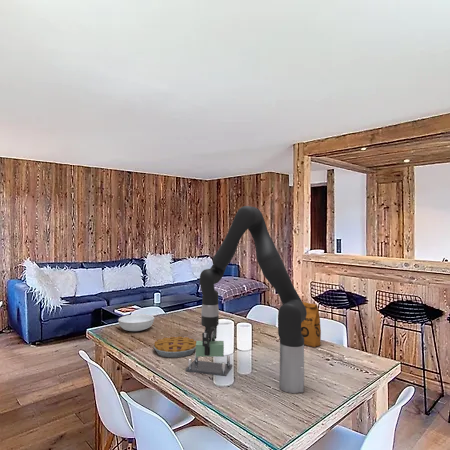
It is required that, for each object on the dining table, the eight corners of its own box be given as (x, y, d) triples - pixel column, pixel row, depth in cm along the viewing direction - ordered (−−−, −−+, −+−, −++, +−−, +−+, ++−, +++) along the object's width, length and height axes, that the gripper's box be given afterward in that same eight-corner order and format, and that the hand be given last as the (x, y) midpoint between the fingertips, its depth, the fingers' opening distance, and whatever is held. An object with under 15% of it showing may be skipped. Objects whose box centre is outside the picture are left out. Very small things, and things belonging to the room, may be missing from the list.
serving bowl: (138, 322, 229) (138, 312, 229) (161, 328, 216) (161, 317, 216) (110, 330, 212) (111, 318, 212) (134, 336, 199) (134, 324, 199)
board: (223, 352, 158) (223, 340, 158) (223, 356, 153) (223, 344, 153) (196, 352, 158) (196, 340, 158) (195, 356, 152) (195, 344, 152)
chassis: (232, 366, 158) (232, 355, 158) (226, 376, 148) (226, 364, 148) (194, 362, 163) (194, 351, 163) (185, 371, 152) (185, 360, 152)
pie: (153, 360, 165) (153, 349, 165) (153, 345, 186) (153, 335, 186) (200, 357, 169) (200, 347, 169) (194, 343, 190) (194, 333, 190)
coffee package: (313, 349, 182) (314, 306, 182) (293, 343, 191) (294, 302, 191) (323, 345, 189) (324, 303, 189) (304, 339, 198) (304, 299, 198)
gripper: (213, 318, 147) (213, 359, 147) (222, 311, 161) (222, 348, 161) (196, 317, 149) (195, 357, 149) (206, 310, 163) (206, 346, 163)
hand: (209, 352), depth 155 cm, fingers closed on board, 6 cm apart
